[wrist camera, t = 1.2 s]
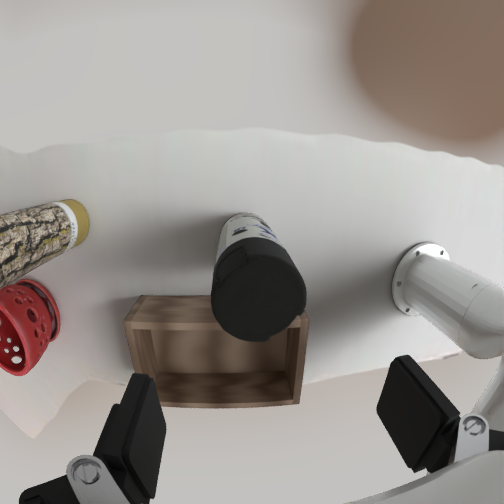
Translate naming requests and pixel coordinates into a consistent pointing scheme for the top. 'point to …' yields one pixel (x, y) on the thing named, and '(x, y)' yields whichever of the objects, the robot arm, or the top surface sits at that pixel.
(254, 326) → the spray can
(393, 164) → the top surface
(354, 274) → the top surface
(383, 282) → the top surface
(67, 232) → the paper tube
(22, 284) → the plant pot
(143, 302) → the walnut box
